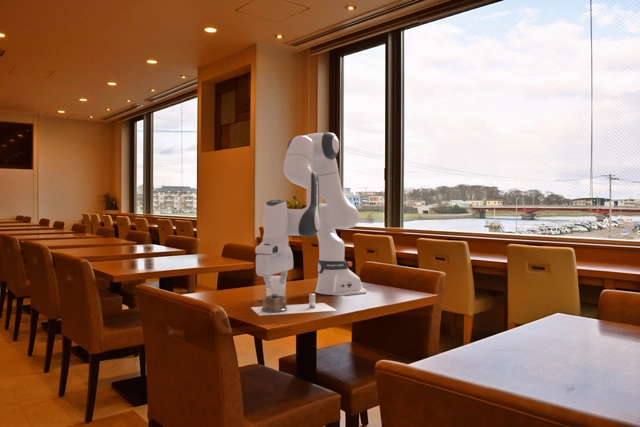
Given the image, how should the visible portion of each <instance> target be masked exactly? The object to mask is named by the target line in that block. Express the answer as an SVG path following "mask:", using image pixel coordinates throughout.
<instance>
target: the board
mask: <svg viewBox="0 0 640 427" xmlns="http://www.w3.org/2000/svg"><path fill="white" fill-rule="evenodd" d="M262 307H263V306H253V307H250V309H252V310H253V312H255V314H257V315H258V316H259V317H260V316H271V315H272V316H273V315H274V316H275V315H290V314H292V315H293V314H303V313H306V314H308V313H317V312H318V313H321V312H337V311H338V309H335V308H334V307H332V306H330V305H328V304H327V303H324V302H319V303H316V302H315V308H309V303H304V304H303V303H302V304H286V307H287V311H285V312H279V313H268V312H263V311H262V310H261V308H262Z"/></svg>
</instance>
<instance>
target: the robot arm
mask: <svg viewBox="0 0 640 427" xmlns="http://www.w3.org/2000/svg"><path fill="white" fill-rule="evenodd" d="M286 149H287V150H286V155H285V158H284V161H283V165H282V166H283V173H284V176H285V178H286V179H287V180H288V181H289V182H290V183H292V184H294V185H296V186H298V187H301V188H303V189H306V206H305V207H304V208H288V206H287V201H286V200H283V199H273V200H268V201H266V202H265V203H264V206H263V211H262V212H263V213H262V228H263V235H262V241H261V242H260V243H259V244H258V245H256V247H255V251H254V253H255V254H256V256H255V274H256V275H257V276H258V277H263V281H264V283H265V289H266V288H271V287H272V283H271V281H270V278H271V276H274V275H275V274H279V273H280V276H281V278H280V279H279V283H280V284H284V283H286V284H287V276H288V271H290V270H293V269H294V254H293V251H292V248H291V247H290V245H289V236H291V237H292V236H295V237H296V236H298V237H307V238H312V237H313V236H315V235H316V236H317V240H318V250H319V251H318V252H319V253H318V254H319V257H318V260H317V261H318V264H317V271H318V272H317V273H318V276H317V284H316V288H315V294H316V293H317V294H319V295H320V294H321V295H328V296H329V295H331V296H340V297H341V296H352V295H360V294H367V289H365V288H364V287H362V280H361V279H360V278H361V277H359V276H358V275H357V274H356V273H354V272H353V271H352V270H350V269H349V267H352V261H347V260H346V259H345V252H346V251H345V248H346V247H345V246H346V245H345V241H344V240H343V239H342V238H340V237H339V236H338V234H337V231H336V229H338V230H347V229H352V228H355V227H356V226H357V225H358V223H359V220H360V212H359V210H358V208H357V207H356V206H355V205H354V204H352V203H351V202H350V201H349V200H348V198H347V196H346V195H345V193H344V190H343V188H342V184H341V179H340V173H339V168H338V167H339V166H338V161H337V159H336V158H337V156H338V153H339V152H340V140H339V138H338V136H337V135H336V134H335V133H334V132H327V131H325V132H315V133H312V132H311V133H308V134H305V135H297V136H295V137H292V138H290V140H289V142H287V148H286ZM320 197H321V198H322V199H323V200H324V202H325V203H320Z"/></svg>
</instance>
